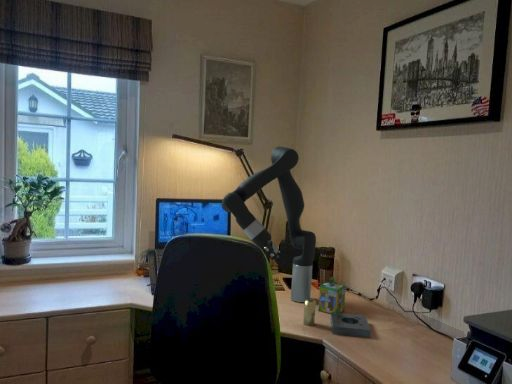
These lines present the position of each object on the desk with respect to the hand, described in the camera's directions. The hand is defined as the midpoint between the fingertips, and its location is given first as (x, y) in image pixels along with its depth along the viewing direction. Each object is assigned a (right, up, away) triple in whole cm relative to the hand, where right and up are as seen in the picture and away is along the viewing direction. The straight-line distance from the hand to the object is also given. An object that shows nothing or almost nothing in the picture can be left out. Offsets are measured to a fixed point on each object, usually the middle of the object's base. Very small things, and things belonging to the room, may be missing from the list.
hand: (283, 263), depth 166 cm
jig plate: (+26, -25, -2) cm, 36 cm away
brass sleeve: (+10, -24, 0) cm, 26 cm away
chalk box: (+22, -24, +18) cm, 37 cm away
